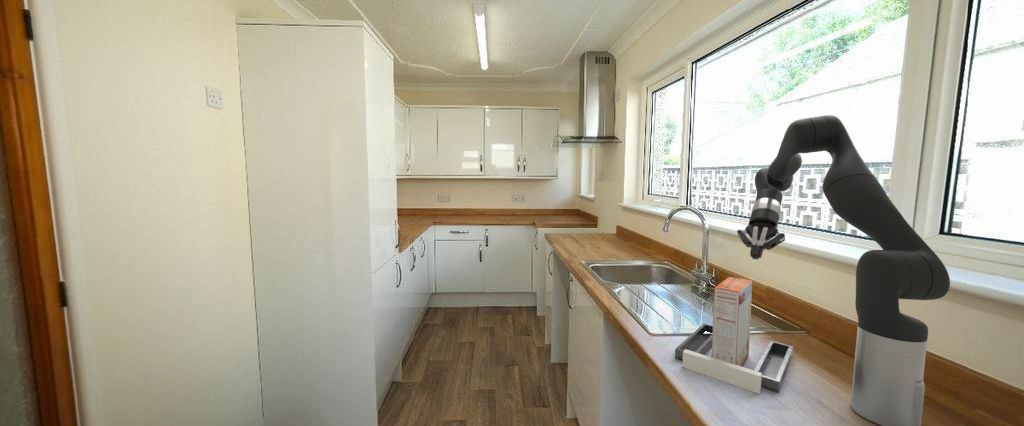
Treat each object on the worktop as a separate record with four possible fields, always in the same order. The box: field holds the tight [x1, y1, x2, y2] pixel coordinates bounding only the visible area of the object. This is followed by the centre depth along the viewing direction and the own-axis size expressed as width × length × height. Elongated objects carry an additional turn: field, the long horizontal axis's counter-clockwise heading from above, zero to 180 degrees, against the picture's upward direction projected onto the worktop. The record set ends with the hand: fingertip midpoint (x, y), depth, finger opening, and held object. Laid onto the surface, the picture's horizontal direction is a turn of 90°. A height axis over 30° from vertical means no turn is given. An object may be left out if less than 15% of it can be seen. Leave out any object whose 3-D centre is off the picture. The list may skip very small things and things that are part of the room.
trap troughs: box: [674, 323, 794, 393], centre depth 93 cm, size 22×24×2 cm
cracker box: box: [711, 276, 753, 367], centre depth 90 cm, size 14×6×21 cm, turn 136°
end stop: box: [681, 349, 762, 395], centre depth 83 cm, size 16×2×4 cm, turn 46°
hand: (755, 257), depth 107 cm, fingers closed
